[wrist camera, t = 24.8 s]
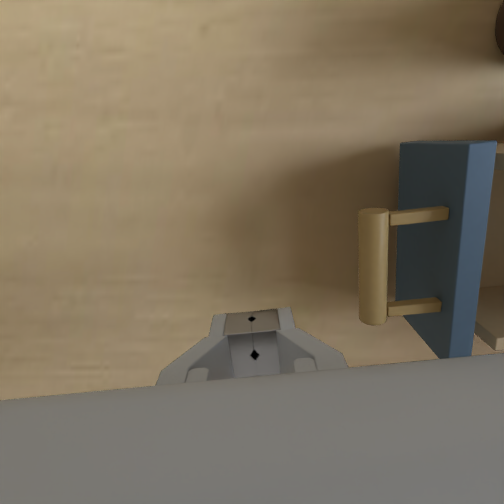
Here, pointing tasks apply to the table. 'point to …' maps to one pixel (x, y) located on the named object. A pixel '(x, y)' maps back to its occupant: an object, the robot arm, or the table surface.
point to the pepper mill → (500, 28)
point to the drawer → (440, 246)
